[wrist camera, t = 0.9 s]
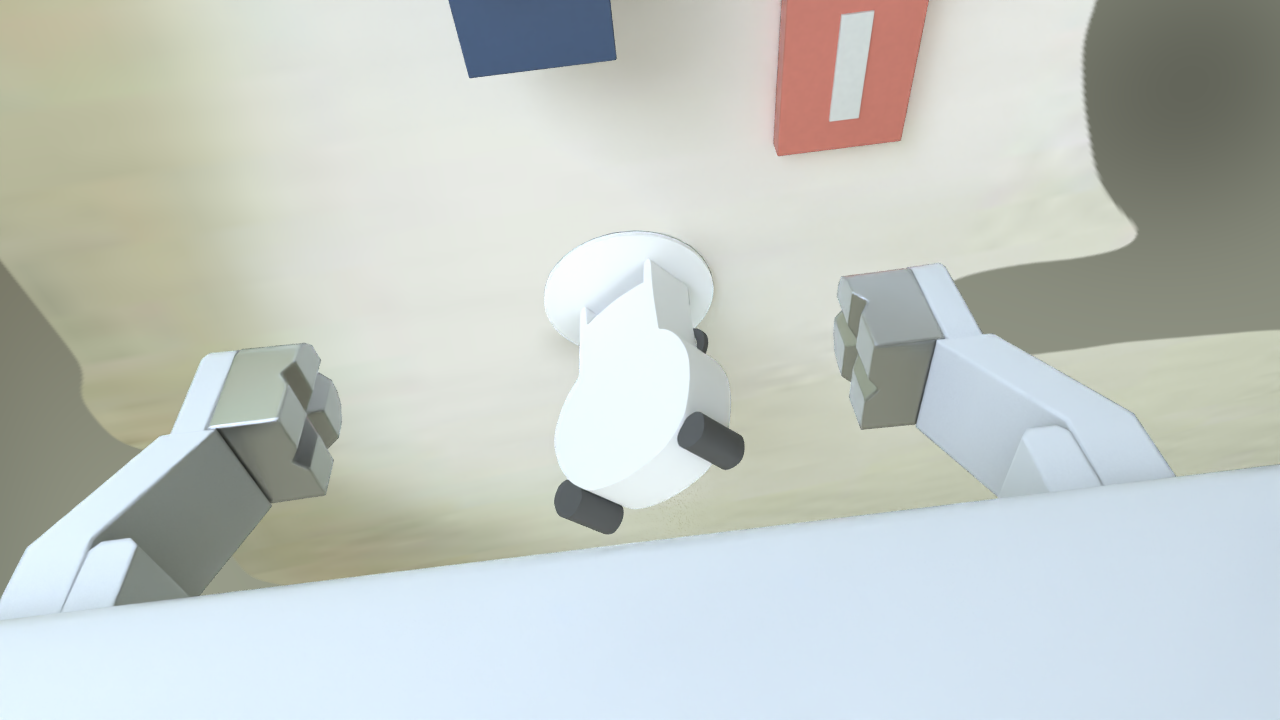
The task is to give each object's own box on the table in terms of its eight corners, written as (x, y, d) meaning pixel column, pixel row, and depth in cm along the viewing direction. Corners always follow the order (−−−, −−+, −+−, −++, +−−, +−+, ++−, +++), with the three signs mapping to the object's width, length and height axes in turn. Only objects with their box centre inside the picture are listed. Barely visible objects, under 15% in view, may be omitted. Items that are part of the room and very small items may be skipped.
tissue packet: (783, -32, 39) (789, -19, 38) (929, -50, 39) (938, -38, 38) (773, 144, 46) (777, 158, 46) (894, 128, 46) (902, 143, 46)
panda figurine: (621, 375, 61) (640, 559, 52) (502, 307, 54) (499, 504, 45) (746, 289, 55) (794, 479, 46) (630, 201, 49) (658, 402, 39)
